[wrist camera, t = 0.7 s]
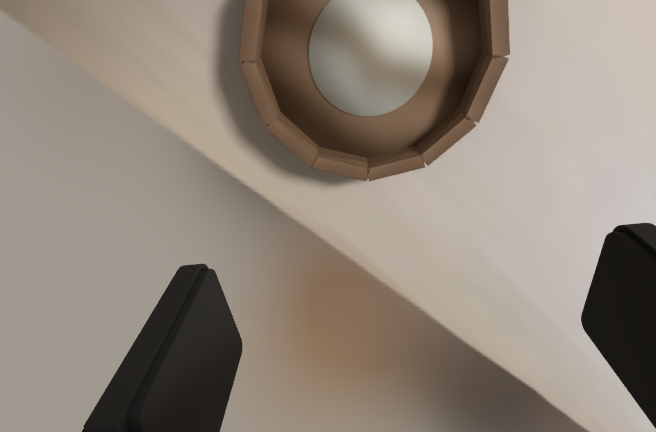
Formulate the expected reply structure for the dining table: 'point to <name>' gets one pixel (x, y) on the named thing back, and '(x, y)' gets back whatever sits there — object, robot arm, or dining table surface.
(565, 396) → the dining table surface
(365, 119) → the round wooden tray
